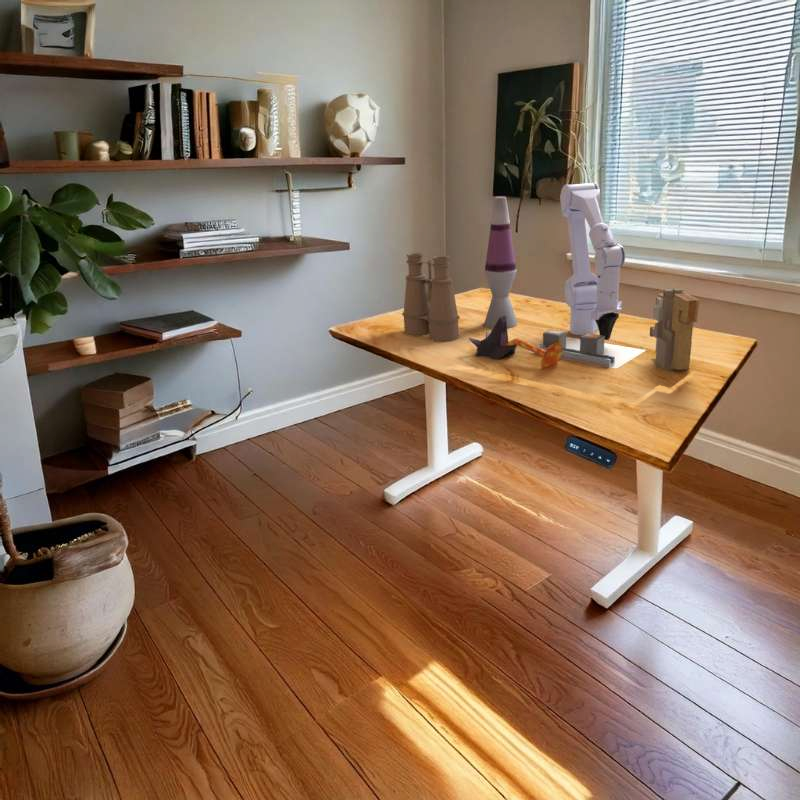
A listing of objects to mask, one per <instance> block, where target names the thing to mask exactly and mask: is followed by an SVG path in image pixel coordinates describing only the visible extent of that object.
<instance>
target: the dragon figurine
mask: <svg viewBox="0 0 800 800" xmlns="http://www.w3.org/2000/svg"><path fill="white" fill-rule="evenodd" d="M508 333H509V332H508V328H507V320H506V315H505V316H502V317H499V320H498V321H497V323H496V324H495V326H494V328H491V331H490V332H489V331H486V333H485V337H484V338H483V339H482V340H478V339H476V338H471V337H469V338H468V340H469V341H470V343H472V344H473V345H474V346H475V347H476V352H477V353H476V354H475V357H482V358H483V357H484V358H489V359H491V360H494V361H495V360H497V361H498V360H500V359H501V358H502V357H504V356H505V355H506V354H515V352H516V349H517V347H520V348H522V349H525V350H527V351H528V352H530V351H531V352H534V353H533V354H536V355H538V356H540V357H541V360H540V364H541V365H540V366H541V369H542V370H544V369H545V368H547V367H549V366H551V365H557V364H558V362H559V360H560V359H561V358H560V357H561V355H562V353H563V351H562V344H561V341H559V342H557V343H554V344H552V345H550V346H549V347H548V349H547V350H544V349H541V348H539V347H537V346H538V345H534V344H532V343H530V342H527V341H526V340H524V339H523V340H522V339H521V338H518V337H516V338H513V339H512V340H510V341H509V335H508ZM531 352H530V353H531Z"/></svg>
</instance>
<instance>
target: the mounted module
mask: <svg viewBox="0 0 800 800" xmlns="http://www.w3.org/2000/svg"><path fill="white" fill-rule="evenodd" d="M566 337H567V331H562V330H561V331H560V330H554V329H549V330H547V331H544V332H543V333H542V344H547V345H552V344H554V343H557V342H559V341H561V344H562V347H563V348H566Z"/></svg>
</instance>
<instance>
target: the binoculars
mask: <svg viewBox="0 0 800 800" xmlns="http://www.w3.org/2000/svg"><path fill="white" fill-rule="evenodd" d="M423 256H424V252H408V253H406V257H407V260H406V264H407V265H408V275H406V276H405V281H406V282H405V290H404V291H405V294H404V305H403V312H401V313H402V315H401V316H402V317H403V325H404V334H405V335H406V334H407V335H406V336H409V335H411V336H410V337H424V336H423V335H425V336H428V339H429V340H430V341H432V340H433V342H437V341H438V342H437V343H447V341H448V342H452V341H456V340H458V339H460V338H459V337H460V334H459V320H460V316H459V314H458V309H457V304H456V302H457V301H456V296H455V295H456V294H455V291H454V285H453V283H454V280H453V278H452V277H450V266H451V265H452V264H451V263H452V262H450V258H451V255H447V254H445V255H444V254H439V255H434V256H432V260H431V259H428V260H425V259H423V258H424V257H423ZM423 264H427V267H428V269H427V271H428V276H427V275H426V274H425V273H424V265H423ZM432 267H433V270H434V271H433V272H434V273H433V274H434V275H433V276H434V277H433V276H432ZM428 334H429V335H428Z"/></svg>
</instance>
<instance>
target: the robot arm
mask: <svg viewBox="0 0 800 800" xmlns="http://www.w3.org/2000/svg"><path fill="white" fill-rule="evenodd" d="M599 186H600V185H599V184H598V183H597V182H594V181H593V182H586V183H577V184H576V183H575V184H564V185H563V186H562V188H561V191H560V195H559V197H560V199H559V200H560V210H561V215H562V216H563V217H565V218H566V220H567V228H568V229H567V230H568V238H569V247H570V254H571V263H572V275H571V276H570V277H569V278H568V279H567V280H566V282H565V285H564V287H565V289H564V300H565V303H566V305H567V306H568V307H570V314H569V315H570V317H569V319H570V321H569V333H570V334H572V335H574V336H575V335H576V336H583V335H585V334H587V333H591V334H595V332H597V331H598V332H599V335H603V336H605V340H604V341H608V340H610V339H611V336H612V332H613V328H614V327H615V323H616V322H617V320H618V318H619V317H620V313H619V312H621V311H622V308H623V301H619V291H620V276H621V275H620V273H621V268H622V267H623V266H624V265H625V261H626V254H625V253H626V252H625V249H624V246H623V245H621V244H620V243H619V242H617V241H616V240H615V237H614V235H613V232H612V229H611V228H610V226H609V225H608V224H606V223H604V221H603V217H602V214H601V210H600V206H599V203H600V200H601V199H600V198H601V189H600V187H599ZM586 222H587V225H588V226H589V228H590V230H589V232H588V235H587V229H586ZM587 237H589V239H590V241H591V245H592V247H593V249H594V252H595V253H594V257H593V260H594V265H595V266H594V267H595V273H596V274H595V273H593V272H591V271H592V270H591V263H590V254H589V252H590V251H589V246H588V238H587Z"/></svg>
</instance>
